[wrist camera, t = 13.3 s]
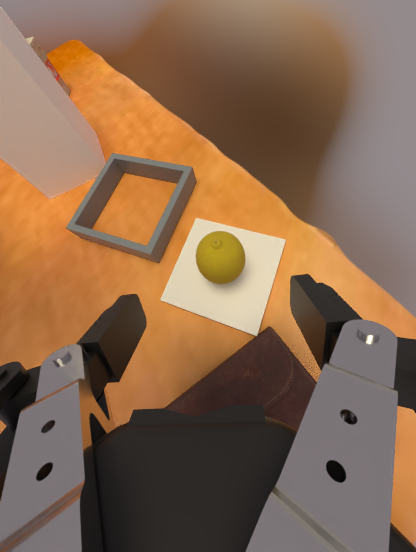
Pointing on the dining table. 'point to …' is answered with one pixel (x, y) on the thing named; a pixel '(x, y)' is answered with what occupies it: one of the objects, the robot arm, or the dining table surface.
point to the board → (232, 296)
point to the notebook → (254, 383)
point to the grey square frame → (104, 189)
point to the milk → (41, 121)
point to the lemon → (220, 257)
